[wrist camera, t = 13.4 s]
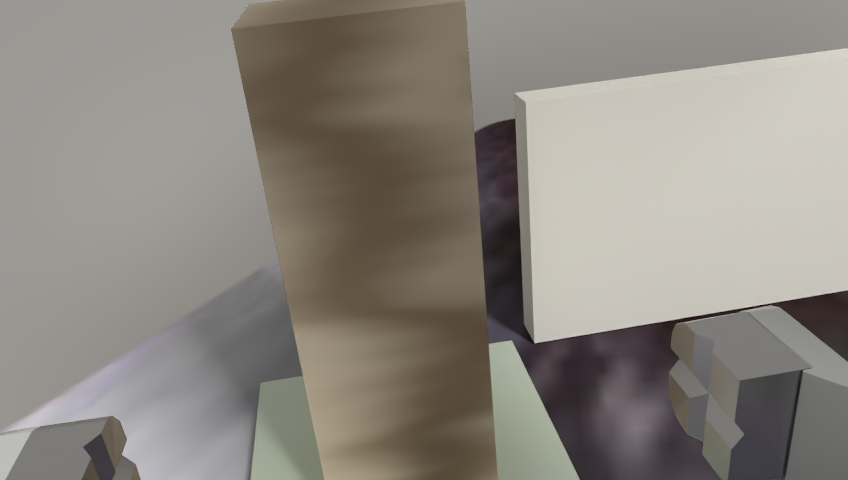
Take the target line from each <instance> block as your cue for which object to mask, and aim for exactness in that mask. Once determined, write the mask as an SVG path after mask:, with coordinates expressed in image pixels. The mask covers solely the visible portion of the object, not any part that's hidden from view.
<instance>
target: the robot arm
mask: <svg viewBox="0 0 848 480" xmlns="http://www.w3.org/2000/svg"><path fill="white" fill-rule="evenodd" d="M671 348H672V350H673V351H674V352H675V353H676V354H677V356H678V357H679V358H680V359H679V360H678V361H677V363H676V364H675V365H674V367H673V368H672V369H671V371H670V372H669V394H670V399H671V403H672V408H673V411H674V413H675V415H676V417H677V419H678V421H679V423H680V424H681V426H682V427H683V428H684V430H685V431H686V433H687V434H689V435H691V436H693V437H696V438H698V439H700V440H702V441H704V442H703V456H704V457H705V458H706V460H707V461H708V462H709V464H710V465H711V466H712V468H713V469H714V470H715V472H716V473H717V474H718V476H719V477H720V478H721V479H722V480H773V479H780V478H785V480H848V362H847V361H846V360H844V359H843V358H842V357H841V356H839V355H838V354H837V353H836V352H834V351H833V350H832V349H831V348H830V347H828V346H827V345H826V344H825V343H823V342H822V341H821V340H820V339H818V338H817V337H816V336H815V335H813V334H812V333H811V332H810V331H808V330H807V329H806V328H805V327H803V326H802V325H801V324H800V323H798V322H797V321H796V320H795V319H794V318H792V317H791V316H790V315H789V314H787V313H786V312H785V311H784V310H782V309H781V308H779V307H775V306H771V305H770V306H765V307H760V308H755V309H750V310H745V311H740V312H739V313H734V314H728V315H722V316H717V317H711V318H706V319H700V320H695V321H689V322H683V323H678V324H676V325H675V327H674V330H673V332H672V340H671ZM126 440H127V438H126V436H125V433H124V431H123V428H122V426H121V423H120V421H119V420H118V419H116V418H115V417H113V416H109V417H102V418H95V419H88V420H81V421H75V422H68V423H61V424H54V425H47V426H40V427H39V428H37V427H33V428H27V429H21V430H15V431H9V432H3V433H1V434H0V480H140V476H139V473H138V470H137V467H136V464H134V463H133V462H131V461H130V460H128V459H127V458H125V457H124V456H122V452H123V449H124V446H125V443H126Z"/></svg>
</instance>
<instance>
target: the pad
mask: <svg viewBox="0 0 848 480" xmlns="http://www.w3.org/2000/svg"><path fill="white" fill-rule="evenodd" d="M489 357H490V371H491V386H492V400H493V415H494V430H495V444H496V459H497V473H498V480H580V479H579V477H578V475H577V473H576V471H575V469H574V467H573V465H572V463H571V461H570V459H569V457H568V455H567V452H566V450H565V448H564V446H563V444H562V442H561V440H560V438H559V436H558V434H557V432H556V430H555V428H554V426H553V424H552V422H551V420H550V418H549V416H548V414H547V412H546V410H545V408H544V405H543V403H542V401H541V399H540V397H539V395H538V393H537V391H536V389H535V387H534V385H533V383H532V381H531V379H530V377H529V375H528V373H527V371H526V369H525V367H524V365H523V363H522V360H521V358H520V356H519V354H518V352H517V350H516V348H515V346H514V344H513V342H512V340H511V341H505V342H499V343H493V344H489ZM250 480H324V475H323V470H322V466H321V461H320V456H319V451H318V446H317V441H316V437H315V432H314V427H313V422H312V417H311V412H310V408H309V403H308V398H307V393H306V388H305V383H304V379H303V376H297V377H291V378H285V379H279V380H273V381H267V382H262V383H260V392H259V402H258V412H257V421H256V431H255V441H254V450H253V460H252V470H251V479H250Z"/></svg>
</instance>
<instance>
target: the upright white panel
mask: <svg viewBox="0 0 848 480" xmlns="http://www.w3.org/2000/svg"><path fill="white" fill-rule="evenodd" d="M514 97H515V121H516V144H517V168H518V191H519V215H520V238H521V262H522V285H523V309H524V325H525V327H526V329H527V331H528V332H529V334H530V336H531V338H532V340H533V342H534V343H539V342H545V341H551V340H557V339H563V338H569V337H575V336H581V335H587V334H593V333H598V332H604V331H610V330H616V329H622V328H628V327H634V326H640V325H646V324H652V323H657V322H663V321H669V320H675V319H681V318H687V317H693V316H699V315H705V314H711V313H716V312H722V311H728V310H734V309H740V308H746V307H752V306H758V305H764V304H770V303H775V302H781V301H787V300H793V299H799V298H805V297H811V296H817V295H823V294H829V293H834V292H840V291H846V290H848V48H847V49H839V50H831V51H823V52H817V53H808V54H802V55H794V56H787V57H779V58H771V59H764V60H756V61H749V62H742V63H734V64H727V65H719V66H711V67H704V68H696V69H690V70H682V71H675V72H667V73H659V74H652V75H644V76H637V77H629V78H622V79H614V80H607V81H599V82H592V83H584V84H577V85H570V86H562V87H555V88H548V89H540V90H532V91H525V92H518V93H514Z"/></svg>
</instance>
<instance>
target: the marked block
mask: <svg viewBox="0 0 848 480" xmlns="http://www.w3.org/2000/svg"><path fill="white" fill-rule="evenodd" d="M231 31H232V36H233V40H234V45H235V50H236V54H237V59H238V65H239V69H240V74H241V79H242V83H243V89H244V93H245V98H246V103H247V108H248V113H249V117H250V123H251V127H252V132H253V137H254V142H255V147H256V151H257V156H258V161H259V166H260V171H261V176H262V180H263V185H264V190H265V195H266V199H267V205H268V209H269V214H270V219H271V224H272V229H273V233H274V238H275V243H276V248H277V253H278V258H279V263H280V267H281V272H282V277H283V282H284V287H285V292H286V296H287V301H288V306H289V311H290V316H291V321H292V325H293V330H294V335H295V340H296V345H297V350H298V354H299V359H300V364H301V369H302V374H303V379H304V383H305V388H306V393H307V398H308V403H309V408H310V412H311V417H312V422H313V427H314V432H315V437H316V441H317V446H318V451H319V456H320V461H321V466H322V470H323V475H324V480H498V473H497V459H496V444H495V430H494V415H493V400H492V386H491V371H490V357H489V342H488V328H487V313H486V299H485V284H484V269H483V255H482V240H481V226H480V211H479V197H478V182H477V167H476V153H475V138H474V124H473V109H472V95H471V81H470V66H469V52H468V38H467V22H466V7H465V1H464V0H283V1H282V0H281V1H273V2H264V3H256V4H249V6H248V7H247V8H246V10H245V11H244V12H243V14H242V15H241V17H240V18H239V19H238V21H237V22H236V23H235V24H234V26H233V27H232V29H231Z"/></svg>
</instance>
